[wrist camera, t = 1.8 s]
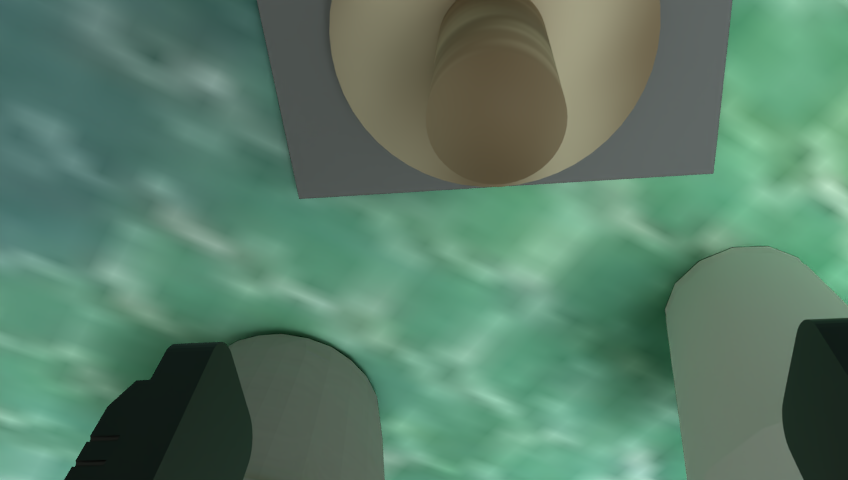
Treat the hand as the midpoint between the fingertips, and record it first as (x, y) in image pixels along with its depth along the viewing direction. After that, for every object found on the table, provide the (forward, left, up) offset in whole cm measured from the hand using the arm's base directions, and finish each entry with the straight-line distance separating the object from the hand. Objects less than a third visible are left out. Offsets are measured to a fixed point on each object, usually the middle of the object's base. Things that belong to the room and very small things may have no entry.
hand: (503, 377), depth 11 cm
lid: (0, 0, -18) cm, 18 cm away
